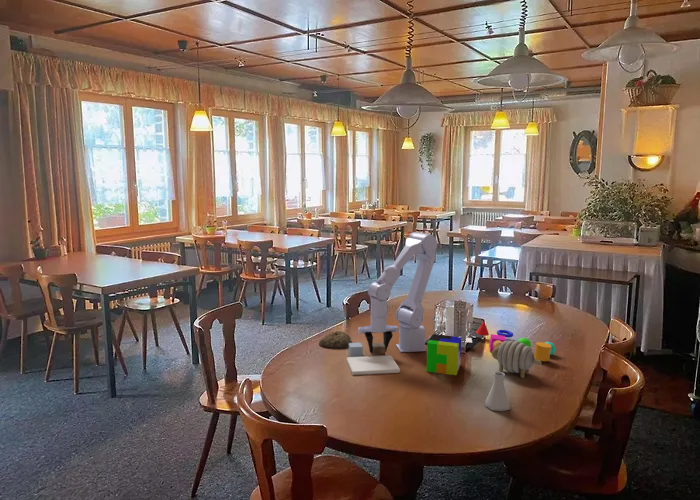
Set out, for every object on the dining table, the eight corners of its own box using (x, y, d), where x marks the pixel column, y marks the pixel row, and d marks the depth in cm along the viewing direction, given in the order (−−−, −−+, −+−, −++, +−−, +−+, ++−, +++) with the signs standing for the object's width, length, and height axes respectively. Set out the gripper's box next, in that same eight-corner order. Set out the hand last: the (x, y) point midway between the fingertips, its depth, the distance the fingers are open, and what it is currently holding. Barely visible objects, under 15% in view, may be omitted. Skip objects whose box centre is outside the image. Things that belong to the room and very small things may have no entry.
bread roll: (348, 350, 198) (348, 337, 197) (316, 347, 201) (316, 335, 200) (355, 339, 211) (355, 327, 210) (324, 337, 213) (324, 325, 212)
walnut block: (382, 353, 195) (382, 342, 194) (385, 357, 190) (385, 346, 190) (370, 353, 194) (370, 343, 194) (373, 358, 190) (373, 347, 189)
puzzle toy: (460, 364, 184) (461, 337, 183) (456, 375, 175) (457, 346, 173) (431, 361, 188) (432, 334, 186) (426, 371, 178) (427, 343, 177)
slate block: (360, 352, 195) (360, 342, 195) (362, 357, 191) (362, 346, 190) (348, 353, 194) (348, 343, 194) (350, 357, 190) (350, 347, 189)
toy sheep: (496, 363, 186) (497, 332, 184) (545, 374, 177) (547, 342, 175) (485, 372, 178) (486, 341, 176) (536, 385, 168) (538, 351, 166)
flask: (481, 401, 156) (482, 369, 155) (504, 400, 157) (506, 368, 155) (489, 412, 149) (491, 379, 148) (514, 411, 150) (516, 378, 148)
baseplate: (390, 358, 190) (390, 355, 189) (399, 372, 177) (399, 369, 177) (346, 360, 187) (346, 357, 187) (352, 375, 174) (352, 371, 174)
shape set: (561, 372, 182) (564, 352, 181) (458, 357, 188) (461, 337, 187) (545, 344, 211) (547, 326, 210) (456, 331, 216) (458, 314, 215)
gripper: (395, 311, 195) (394, 347, 197) (356, 313, 193) (356, 348, 195) (400, 317, 188) (399, 353, 190) (360, 318, 186) (359, 355, 188)
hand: (377, 351), depth 192 cm, fingers closed on walnut block, 4 cm apart
